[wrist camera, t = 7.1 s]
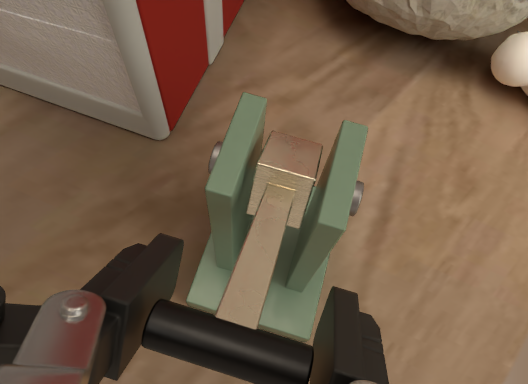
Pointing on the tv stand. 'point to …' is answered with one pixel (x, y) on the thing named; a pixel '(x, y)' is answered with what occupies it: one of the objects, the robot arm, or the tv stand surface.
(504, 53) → the toy creature
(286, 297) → the switch bracket
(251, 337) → the lever
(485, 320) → the tv stand surface
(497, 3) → the decorative shell
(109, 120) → the red striped gift box
